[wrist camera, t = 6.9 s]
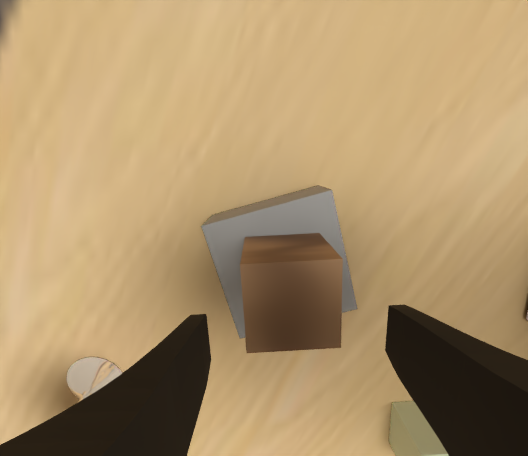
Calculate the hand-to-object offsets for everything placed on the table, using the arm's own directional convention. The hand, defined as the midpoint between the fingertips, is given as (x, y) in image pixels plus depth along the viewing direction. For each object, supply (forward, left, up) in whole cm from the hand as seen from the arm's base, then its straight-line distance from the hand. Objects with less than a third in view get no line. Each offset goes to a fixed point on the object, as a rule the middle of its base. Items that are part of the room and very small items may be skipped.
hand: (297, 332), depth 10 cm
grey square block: (0, 0, -10) cm, 10 cm away
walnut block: (0, 0, -6) cm, 6 cm away
